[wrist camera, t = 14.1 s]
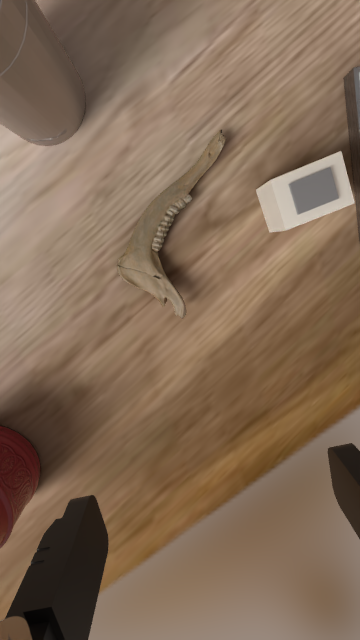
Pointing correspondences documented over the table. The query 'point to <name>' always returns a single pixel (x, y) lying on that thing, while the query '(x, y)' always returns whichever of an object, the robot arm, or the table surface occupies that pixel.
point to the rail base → (354, 129)
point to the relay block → (306, 193)
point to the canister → (15, 478)
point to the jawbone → (163, 233)
